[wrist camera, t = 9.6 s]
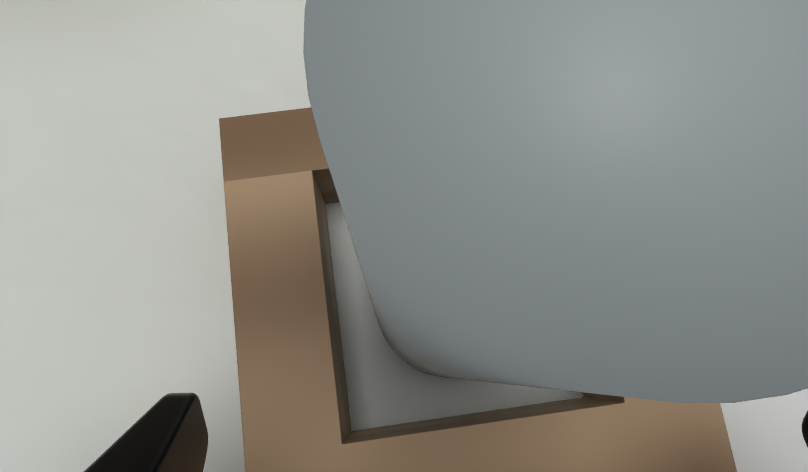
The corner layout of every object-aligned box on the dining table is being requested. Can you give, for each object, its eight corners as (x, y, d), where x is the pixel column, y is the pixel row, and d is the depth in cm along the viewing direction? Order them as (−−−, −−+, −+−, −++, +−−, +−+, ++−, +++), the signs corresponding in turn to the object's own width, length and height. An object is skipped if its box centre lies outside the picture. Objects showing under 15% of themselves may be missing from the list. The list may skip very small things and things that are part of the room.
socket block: (730, 694, 15) (810, 772, 12) (299, 769, 15) (275, 867, 12) (599, 116, 19) (637, 68, 16) (247, 159, 18) (219, 118, 15)
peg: (553, 333, 17) (1179, 184, 3) (417, 405, 17) (528, 560, 3) (481, 201, 18) (757, -334, 4) (349, 266, 17) (190, -111, 4)
